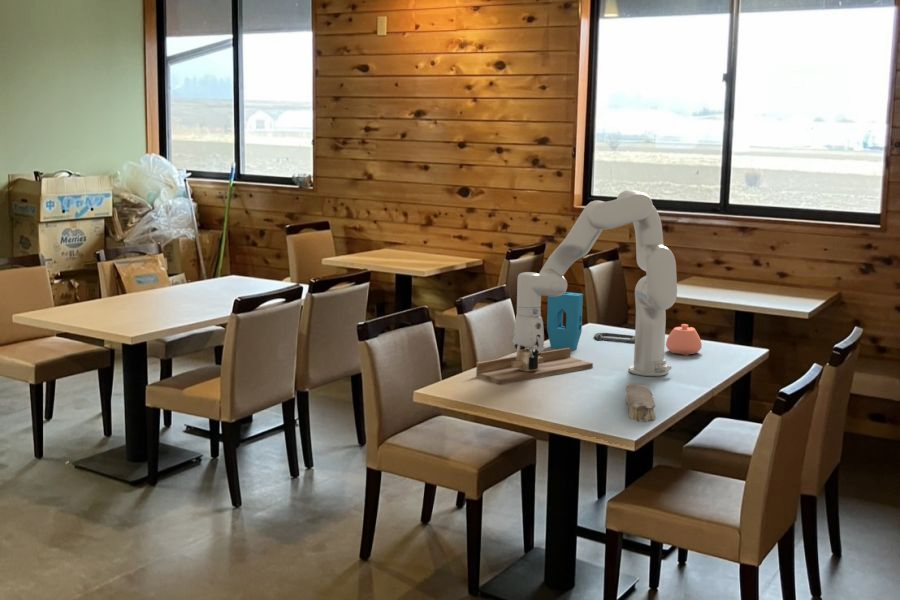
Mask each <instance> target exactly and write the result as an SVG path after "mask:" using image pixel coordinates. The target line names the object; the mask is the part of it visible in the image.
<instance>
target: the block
mask: <svg viewBox="0 0 900 600" xmlns="http://www.w3.org/2000/svg"><path fill="white" fill-rule="evenodd" d="M583 297H584V294H583V293H577V292H568V291H566V292H565V293H564V294H563V295H561V296H558V297H550V296H547V316H546V318H547V319H546V322H547V323H546V331H547V334H548V335H547V336H548V340H549V345H550V348H551V349H553V350H558V349H564V348H571V351H575V350H577V348H578V345H579V342H580V337H581V336H582V332H583V331H582V330H583V303H584V302H583V300H584V298H583ZM564 313H565V314H566V315H565V318H566V319H565V326H564Z"/></svg>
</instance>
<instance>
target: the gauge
mask: <svg viewBox="0 0 900 600" xmlns="http://www.w3.org/2000/svg"><path fill="white" fill-rule="evenodd" d="M534 351H535V349H533V353H534ZM515 356H516V361H511V367H513V368H517V369H520V370H523V371H526V372H527V371H532V370H529V357H530V350H529V348H527V347H526V349H521V350H517V352H516V355H515ZM541 363H544V358H543V357H538V364H541ZM533 370H538V368H537V369H533Z"/></svg>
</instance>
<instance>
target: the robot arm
mask: <svg viewBox="0 0 900 600" xmlns="http://www.w3.org/2000/svg"><path fill="white" fill-rule="evenodd" d="M653 204H654V203H653V201H652V198H651V197H650V196H649V195H648V194H647V193H645V192H641V191H638V190H637V191H636V190H633V189H627V190H623V191H622V192H620V193H619V194H618V195H617V198H616V199H613V200H608V201H604V200H593V201H592V200H591V201H590V202H589V203H588V204H586V205H585V207H584V208H583V210H582V211H581V213H580V215H579V216H578V218H577V220H576V221H575V223H574V224H573V226H572V227H571V229H570V231H569V232H568V233H567V236H566V237H565V238H564V239H563V241H562V242H561V243H560V244H559V245H558V246H557V247H556V249H554V250H553V251H552V253H551V254H550V255H549V257H548V258H547V260H546V261H545V263H543V266H542V268H541V269H540V271H539V273H537V272H534V271H533V272H532V271H531V272H530V271H525V272H521V273H519V274H518V276H517V284H516V285H517V286H516V287H517V288H516V289H517V290H516V292H517V293H516V295H517V296H516V315H515V320H514V330H513V332H514V333H513V338H512V340H511V341H512V344H513V345H514V348H515V349H516V350H515V351H516V353H517V350H521V349H526V348H529V350H530V357H529V370H533V369H537V368H538V357H539V355H540V353H541V352H544V351H545V346H544V345H545V332H544V329H545V328H544V321H543V317H542V316H541V315H542V312H541V311H542V309H541V308H542V307H541V306H542V296H545V297H548V296H550V297H558V296H561V295H563V294H564V293H565V292H567V289H568V281H567V279H566V278H565V276H564V275H565V274H566V273H567V271H569V268H570V267H571V266H572V265H574V263H575V262H576V261H578V260H579V259H581V258H583V257H585V256H586V255H587V254H588V253H589V252H590V251H591V249H592V248H593V246H594V244H595V243H596V242H597V240H598V238H599V237H600V235H601V233H602V232H603V230H604V231H606V230H611V229H612V230H613V229H616V228H620V227H623V226H626V225H629V224H630V225H631V224H633V228H634V233H635V236H634V237H635V250H636V256H635V257H636V264H637V266H638V267H639V268H640V270H642V271H644V272H645V273H646V274H645V275H644V276H643V277H640V279H639V280H638V281H637V283H636V285H635V289H634V301H635V329H634V330H635V332H634V336H635V344H634V348H633V349H634V351H633V353H634V354H633V364H632V365H630V366H628V371H629V372H630V373H631V374H634V375H637V376H642V377H643V376H644V377H660V376H667V375H668V374H669V372H670V371H671V370H672V365H670V364H667V360H666V359H665V346H666V343H665V342H666V341H665V340H666V324H667V323H666V320H667V316H666V315H667V314H666V310H669V309H670V308H672V307H673V305H674V304H676V303H675V302H676V299H677V296H678V280H677V279H678V277H677V262H676V257H675V255H674V253H673V252H672V250H671V249H670V248H668V247H667V246H665V244H664V235H663V234H664V232H663V225H662V221H661V217H660V215H659V213H658V212H659V211H658V210H657V208H656V206H654V205H653ZM533 350H535V351H534V353H533Z"/></svg>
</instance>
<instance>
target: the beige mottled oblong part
mask: <svg viewBox="0 0 900 600" xmlns="http://www.w3.org/2000/svg"><path fill="white" fill-rule="evenodd" d="M625 392H626V396H625V403H626V405H627V407H628V417H629V419H630V420H634V421H636V422H641V423H646V422H649V421H651V420H653V421H654V420H655V419H656V412H655V407H656V404H655V399H654V397H653V396H654V395H653V392H652V391H651V389H649V387H648V386H646V385H643V384H628V385H626V386H625Z"/></svg>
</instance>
